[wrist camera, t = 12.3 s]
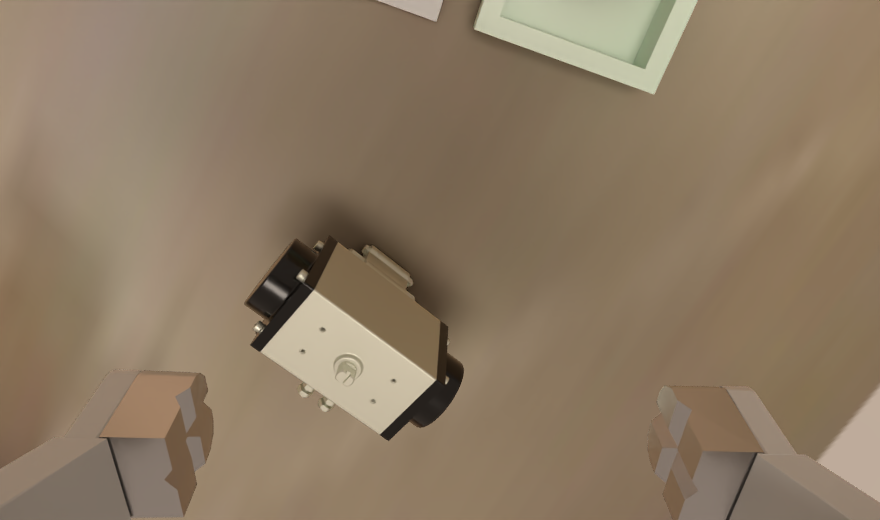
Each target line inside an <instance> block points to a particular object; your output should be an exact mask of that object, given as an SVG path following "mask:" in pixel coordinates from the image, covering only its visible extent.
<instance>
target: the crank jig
mask: <svg viewBox="0 0 880 520" xmlns="http://www.w3.org/2000/svg"><path fill="white" fill-rule="evenodd" d="M377 1H380V2H383V3H385V4H388V5H391V6H394V7H396V8H399V9H402V10H405V11H408V12H410V13H413V14H416V15H419V16H421V17H424V18H427V19H430V20H432V21H435V22H437V19H438V16H439V13H440V10H441V7H442V3H443V0H377Z"/></svg>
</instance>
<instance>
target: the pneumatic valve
mask: <svg viewBox="0 0 880 520" xmlns="http://www.w3.org/2000/svg"><path fill="white" fill-rule="evenodd" d="M313 249H315V250H316V252H314V251H312V250H311V249H310V248H309V247H307V246H306V245H305V244H303V243H302V242H301V241H299V240H298V239H294V240H293V241H292V242H291V243H290V244H289V246H288V247H287V248H286V249H285V250H284V251H283V253H282V254H281V255H280V256H279V258H278V259H277V260H276V261H275V262H274V264H273V265H272V266H271V267H270V269H269V270H268V271H267V273H266V274H265V275H264V276H263V278H262V279H261V280H260V282H259V283H258V284H257V286H256V287H255V288H254V289H253V291H252V292H251V294H250V295H249V296H248V298H247V299H246V301H245V303H244V304H245V306H247V307H248V308H250V309H251V310H253V311H254V312H255V313H257V314H258V315H260V316H261V317H262V318H264V320H263V321H262V322H261V321H258V322H257V323H256V324H255V326H254V327H253V330H254V331H256V336H255V338H254V339H253V341H252V343H251V344H250V345H251V346H252V347H253V348H255V349H256V350H258V351H259V352H261V353H262V354H264V355H265V356H266V357H268V358H269V359H271V360H272V361H274V362H275V363H277V364H278V365H279V366H281V367H282V368H284V369H285V370H287V371H288V372H290V373H291V374H292V375H294V376H295V377H297V378H298V379H300V380H301V381H303V383H302V384H300V385H299V386H298V388H297V391H298V393H299V395H300V396H302V397H304V398H308V397H309V396H311V395H312V394H313V392H314V391H315V390H316V391H317V392H318V393H320V394H321V395H323V396H324V397H323V398H321V399H320V400H319V401H318V406H319V408H320V409H321V410H322V411H324V412H328V411H330V410H331V409H332V408H333V406H334V405H337V406H339V407H340V408H342V409H343V410H344V411H346V412H347V413H349V414H350V415H352V416H353V417H355V418H356V419H357V420H359V421H360V422H362V423H363V424H365V425H366V426H368V427H369V428H370V429H372V430H373V431H375V432H376V433H378V434H379V435H381V436H382V437H383V438H385V439H386V440H388V441H389V440H390V439H391V438H392V437H393V436H394V435H395V434H396V433H397V432H398V431H399V430H400V429H401V428H402V427H404V426H405V425H406V424H407V423H408V422H411V423H412V424H413V425H415V426H416V427H419V428H421V427H425V426H427V425H429V424H431V423H432V422H434V421H435V420H436V419H437V418H438V417H439V416H440V415H441V414H442V413H443V412H444V411H445V410H446V408H447V407H448V406H449V404H450V403H451V402H452V400H453V398H454V397H455V395H456V393H457V391H458V389H459V387H460V385H461V382H462V379H463V374H464V368H463V365H462V363H460V362H459V361H458V360H457V359H455V358H454V357H453V356H451V355H450V354H449V353H447V346H448V345H449V343H450V340H449V339H448V326H446V325H445V324H444V323H443V322H441V321H440V320H439V319H437V318H436V317H435V316H433V315H432V314H431V313H430V312H428V311H427V310H426V309H424V308H423V307H422V306H420V305H419V304H418V303H417V302H415V297H414V296H413V295H412V294H410V293H409V292H408V291H407V290H406V287H411V286H412V284H413V282H412V281H413V280H412V279H411V278H410V274H409V273H408V272H407V271H405V270H404V269H403V268H402V267H400V266H399V265H398V264H396V263H395V262H394V261H393V260H391V259H390V258H389V257H387V256H386V255H385V254H384V253H382V252H381V251H380V250H379V249H377V248H376V247H375V246H373V245H372V246H368V245H365V246H364V248H363V249H362V251H361V252H362V253H363V256H361V255H360V254H358V253H357V252H356V251H355V250H353V249H346V248H345V247H344V246H343V245H341V244H340V243H339V242H337V241H336V240H335V239H333V238H332V237H331V236H329V237H328V238H327V239H326V240H325V242H324V243H322V242H321V241H318V242H317V243H316V245H315V246H314V247H313Z"/></svg>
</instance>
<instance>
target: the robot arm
mask: <svg viewBox="0 0 880 520" xmlns="http://www.w3.org/2000/svg"><path fill="white" fill-rule="evenodd" d="M207 392H208V388H207V383H206V379H205V376H204V375H203V374H201V373H192V372H172V371H152V370H144V371H140V370H121V369H115V370H113V371H111V372H109V373H108V374H107V375H106V376H105V378H104V379H103V380H102V382H101V383H100V385H99V386H98V388H97V389H96V391H95V392H94V394H93V395H92V396H91V398H90V399H89V401H88V402H87V404H86V405H85V407H84V408H83V409H82V411H81V412H80V414H79V415H78V417H77V418H76V420H75V421H74V423H73V424H72V425H71V427H70V428H69V430H68V431H67V433H66V434H65V436H64V437H54V438H52V439H50V440H49V441H47V442H45V443H44V444H42V445H40V446H38V447H37V448H35V449H33V450H32V451H30V452H28V453H27V454H25V455H23V456H22V457H20V458H18V459H16V460H15V461H13V462H11V463H10V464H8V465H6V466H5V467H3V468H1V469H0V520H131V518H155V517H184V515H185V513H186V510H187V508H188V505H189V503H190V500H191V498H192V496H193V493H194V491H195V488H196V486H197V482H196V477H195V471H196V470H197V469H199V468H200V467H201V466H203V465H204V464H205V463H206V460H207V458H208V455H209V452H210V450H211V444H212V439H213V415H212V410H211V409H210V408H209V407H208V406H207V405H206V404H205V403H204V402H203V401H204V399H205V396H206V394H207ZM657 404H658V407H659V409H660V411H661V413H660V414H659V415H658V416H656V417H655V418H654V419H653V420H651V423H650V427H649V431H648V454H649V459H650V463H651V466H652V468H653V471H654V473H655V474H656V475H657V476H658V477H659V478H661V479H662V480H663V481H664V482H665V483H666V485H665V488H664V491H663V497H664V499H665V502H666V504H667V507H668V509H669V512H670V514H671V516H672V519H673V520H880V503H879V502H878V501H876V500H875V499H873V498H872V497H870V496H869V495H867V494H866V493H864V492H862V491H861V490H859V489H858V488H856V487H855V486H853V485H852V484H850V483H849V482H847V481H845V480H844V479H842V478H841V477H839V476H838V475H836V474H834V473H833V472H832V471H830V470H828V469H827V468H825V467H824V466H822V465H821V464H819V463H818V462H816V461H815V460H813V459H811V458H810V457H808V456H807V455H797V453H796V452H795V451H794V449H793V448H792V446H791V445H790V443H789V442H788V440H787V439H786V437H785V436H784V434H783V433H782V431H781V430H780V428H779V427H778V425H777V424H776V422H775V421H774V419H773V418H772V416H771V415H770V413H769V412H768V410H767V409H766V407H765V406H764V404H763V403H762V401H761V400H760V399H759V397H758V396H757V394H756V393H755V391H754V390H753V389H751V388H749V387H748V386H720V387H710V386H664V387H663V388H662V389H661V391H660V393H659V396H658V399H657Z"/></svg>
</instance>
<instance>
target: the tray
mask: <svg viewBox="0 0 880 520" xmlns="http://www.w3.org/2000/svg"><path fill="white" fill-rule="evenodd" d="M697 1H698V0H482V1H481V4H480V7H479V10H478V13H477V16H476V19H475V22H474V25H473V27H474V30H477V31H480V32H483V33H485V34H488V35H491V36H494V37H496V38H499V39H502V40H505V41H507V42H510V43H513V44H516V45H518V46H521V47H524V48H527V49H530V50H532V51H535V52H538V53H541V54H543V55H546V56H549V57H552V58H554V59H557V60H560V61H563V62H565V63H568V64H571V65H574V66H577V67H579V68H582V69H585V70H588V71H590V72H593V73H596V74H599V75H601V76H604V77H607V78H610V79H612V80H615V81H618V82H621V83H624V84H626V85H629V86H632V87H635V88H637V89H640V90H643V91H646V92H648V93H651V94H654V93H655V91H656V89H657V87H658V85H659V83H660V81H661V78H662V76H663V74H664V72H665V70H666V68H667V66H668V63H669V61H670V59H671V57H672V55H673V53H674V50H675V48H676V46H677V44H678V42H679V40H680V38H681V35H682V33H683V31H684V29H685V27H686V25H687V23H688V20H689V18H690V16H691V14H692V12H693V10H694V7H695V5H696V3H697Z"/></svg>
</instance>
